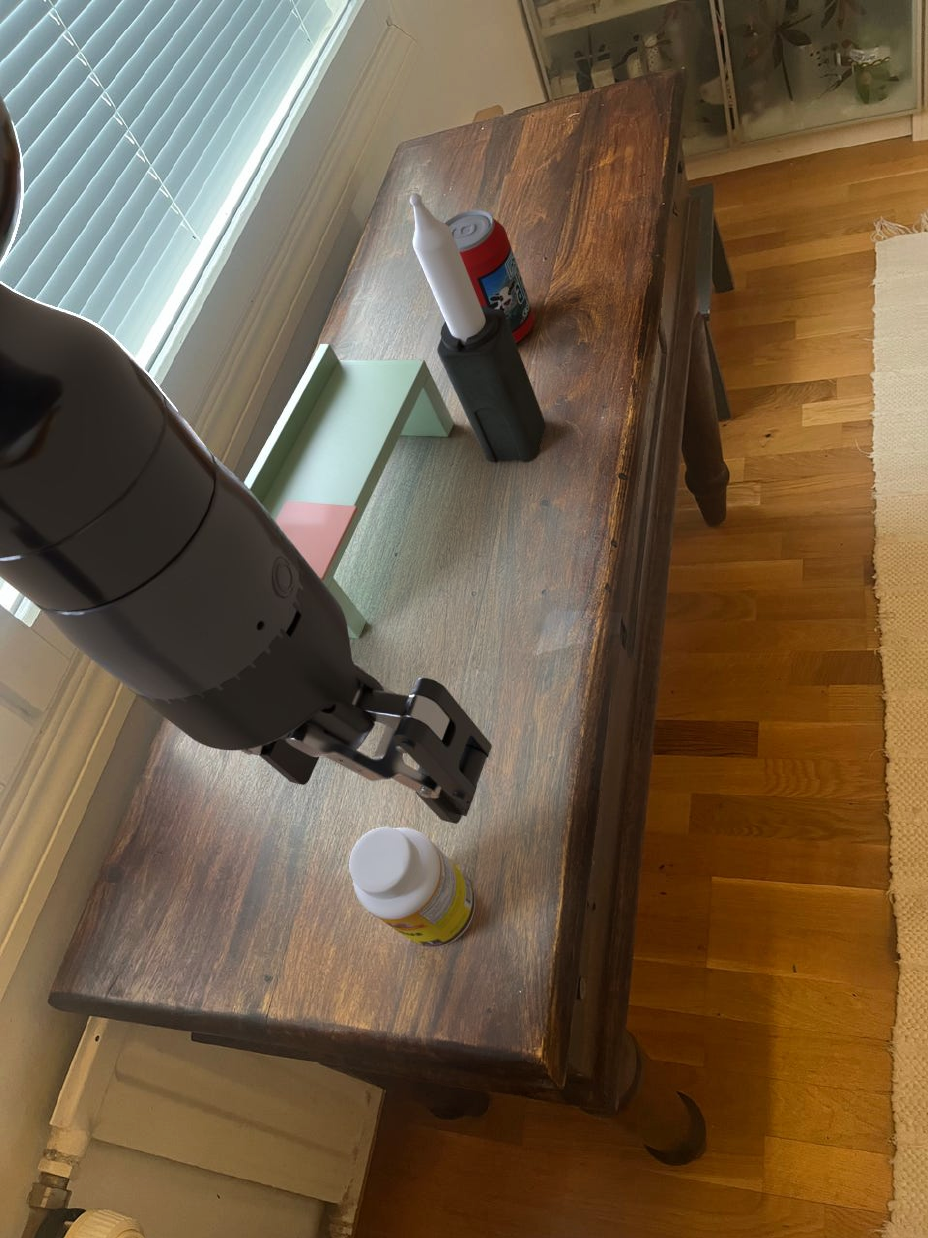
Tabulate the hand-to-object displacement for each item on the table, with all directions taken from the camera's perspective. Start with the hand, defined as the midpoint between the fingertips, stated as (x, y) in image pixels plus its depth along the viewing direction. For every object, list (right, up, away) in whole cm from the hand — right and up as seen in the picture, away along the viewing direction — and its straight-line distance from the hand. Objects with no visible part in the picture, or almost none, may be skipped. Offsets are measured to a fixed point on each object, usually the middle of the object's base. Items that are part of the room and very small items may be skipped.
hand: (381, 784), depth 45 cm
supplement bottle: (+2, -12, +18) cm, 21 cm away
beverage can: (+8, +36, +48) cm, 61 cm away
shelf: (-5, +17, +40) cm, 44 cm away
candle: (+9, +24, +39) cm, 47 cm away
